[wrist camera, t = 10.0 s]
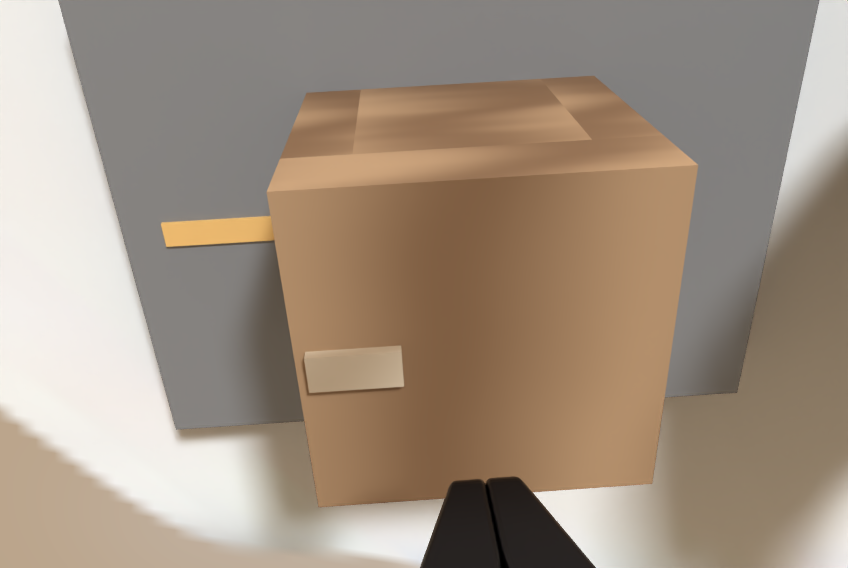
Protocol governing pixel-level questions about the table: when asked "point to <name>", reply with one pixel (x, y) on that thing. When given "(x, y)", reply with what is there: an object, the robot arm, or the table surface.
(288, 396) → the gray rectangular slab
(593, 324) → the shipping carton
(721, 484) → the table surface
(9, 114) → the table surface
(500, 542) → the robot arm
